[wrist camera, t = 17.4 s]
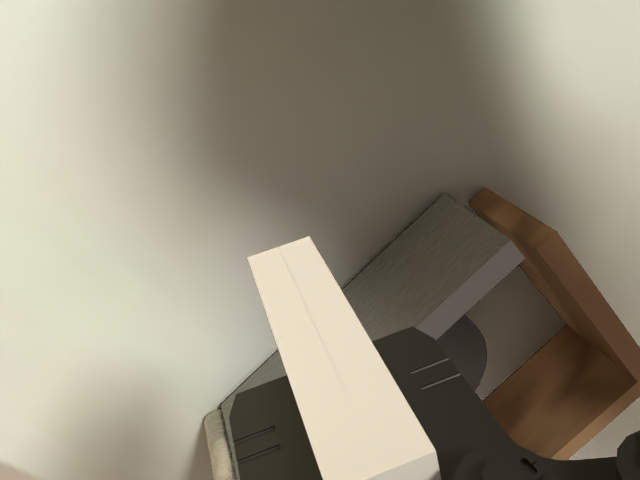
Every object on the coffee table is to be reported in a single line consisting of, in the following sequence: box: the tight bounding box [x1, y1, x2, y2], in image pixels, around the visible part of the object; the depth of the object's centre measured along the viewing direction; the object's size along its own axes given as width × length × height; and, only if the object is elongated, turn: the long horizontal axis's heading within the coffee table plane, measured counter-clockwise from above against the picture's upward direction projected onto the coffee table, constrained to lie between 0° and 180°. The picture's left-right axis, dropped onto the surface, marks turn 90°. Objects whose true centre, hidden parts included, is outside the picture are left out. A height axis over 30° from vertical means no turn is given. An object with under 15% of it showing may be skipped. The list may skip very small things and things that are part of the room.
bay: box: [469, 188, 640, 460], centre depth 33 cm, size 19×14×6 cm
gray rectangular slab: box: [204, 193, 525, 480], centre depth 28 cm, size 18×2×7 cm, turn 132°
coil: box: [436, 314, 487, 391], centre depth 32 cm, size 8×8×4 cm
